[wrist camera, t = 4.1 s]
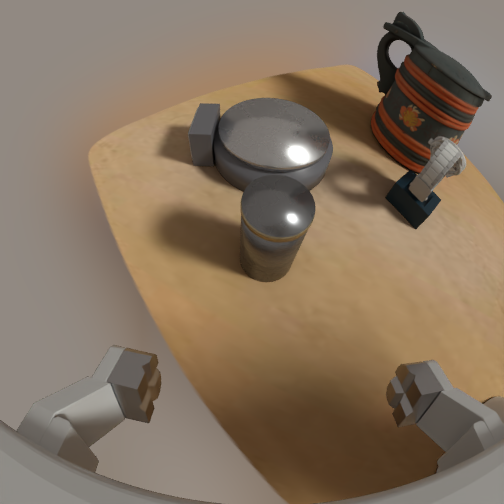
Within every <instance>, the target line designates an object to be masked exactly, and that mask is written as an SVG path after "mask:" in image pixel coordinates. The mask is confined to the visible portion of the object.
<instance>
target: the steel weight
mask: <svg viewBox="0 0 504 504" xmlns="http://www.w3.org/2000/svg"><path fill="white" fill-rule="evenodd" d="M314 215H315V202H314V199H313V196H312V194H311V193H310V191H309V190H308V189H307V188H306V187H305V186H304V185H303V184H302V183H300V182H299V181H297V180H295V179H293V178H291V177H288V176H284V175H266V176H262V177H259V178H257V179H255V180H254V181H252V182H251V183H250V184H249V185H248V186H247V187H246V189H245V190H244V193H243V195H242V199H241V236H240V263H241V266H242V268H243V270H244V271H245V272H246V273H247V274H248V275H249V276H250V277H251V278H253V279H255V280H257V281H261V282H273V281H276V280H279V279H280V278H282V277H283V276H285V275H286V273H287V272H288V271H289V269H290V267H291V265H292V263H293V261H294V259H295V256H296V254H297V252H298V250H299V248H300V246H301V244H302V241H303V239H304V237H305V235H306V233H307V231H308V229H309V227H310V226H311V224H312V221H313V219H314Z"/></svg>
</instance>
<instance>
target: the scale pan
mask: <svg viewBox="0 0 504 504" xmlns="http://www.w3.org/2000/svg"><path fill="white" fill-rule="evenodd" d="M219 138H220V142H221V143H222V145H223V147H224V148H225V150H226V151H227V152H228V153H229V154H230V155H231V156H233V157H234V158H235V159H237V160H239V161H240V162H242V163H244V164H247V165H249V166H252V167H255V168H258V169H262V170H267V171H274V172H291V171H298V170H302V169H306V168H308V167H311V166H313V165H314V164H316V163H318V162H319V161H320V160H321V159H322V158H323V157H324V155H325V154H326V152H327V149H328V146H329V143H330V134H329V131H328V128H327V126H326V125H325V123H324V122H323V121H322V120H321V118H320V117H318V116H317V115H316V114H315V113H314V112H312V111H311V110H309V109H307V108H306V107H304V106H302V105H299V104H297V103H294V102H291V101H287V100H283V99H276V98H257V99H251V100H247V101H243V102H240V103H238V104H236V105H234V106H232V107H231V108H229V109H228V110H227V111H226V112H225V113H224V114H223V116H222V117H221V119H220V122H219Z"/></svg>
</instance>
